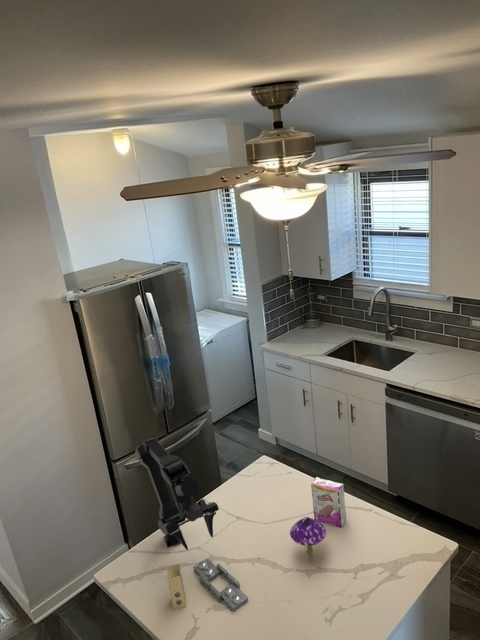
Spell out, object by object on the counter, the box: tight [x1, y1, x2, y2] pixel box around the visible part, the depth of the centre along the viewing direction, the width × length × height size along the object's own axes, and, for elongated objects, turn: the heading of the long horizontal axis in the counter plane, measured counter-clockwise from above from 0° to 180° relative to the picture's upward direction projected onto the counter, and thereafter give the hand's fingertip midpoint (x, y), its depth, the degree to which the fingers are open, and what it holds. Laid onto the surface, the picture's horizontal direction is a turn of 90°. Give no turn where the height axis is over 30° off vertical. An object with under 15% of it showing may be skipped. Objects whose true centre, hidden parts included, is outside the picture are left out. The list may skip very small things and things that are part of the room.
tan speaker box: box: [166, 564, 187, 610], centre depth 167 cm, size 5×4×12 cm
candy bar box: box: [310, 476, 347, 528], centre depth 194 cm, size 11×5×16 cm, turn 58°
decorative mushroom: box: [289, 516, 327, 555], centre depth 179 cm, size 12×12×15 cm
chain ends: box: [193, 558, 249, 612], centre depth 173 cm, size 23×8×2 cm, turn 37°
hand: (199, 543), depth 171 cm, fingers open, 9 cm apart
